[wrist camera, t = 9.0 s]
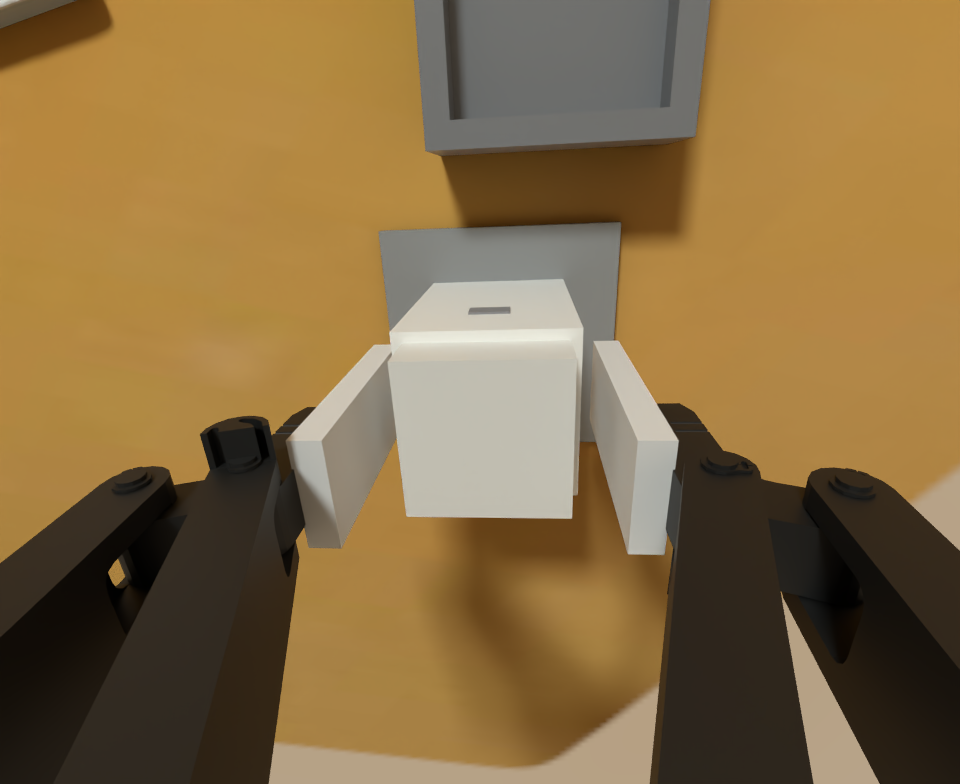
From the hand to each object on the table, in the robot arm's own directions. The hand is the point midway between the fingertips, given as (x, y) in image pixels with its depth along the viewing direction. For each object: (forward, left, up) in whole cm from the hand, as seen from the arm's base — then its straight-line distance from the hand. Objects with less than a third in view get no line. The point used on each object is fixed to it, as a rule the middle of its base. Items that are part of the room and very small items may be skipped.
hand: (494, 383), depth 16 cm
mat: (0, 0, -5) cm, 5 cm away
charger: (0, 0, -4) cm, 4 cm away
